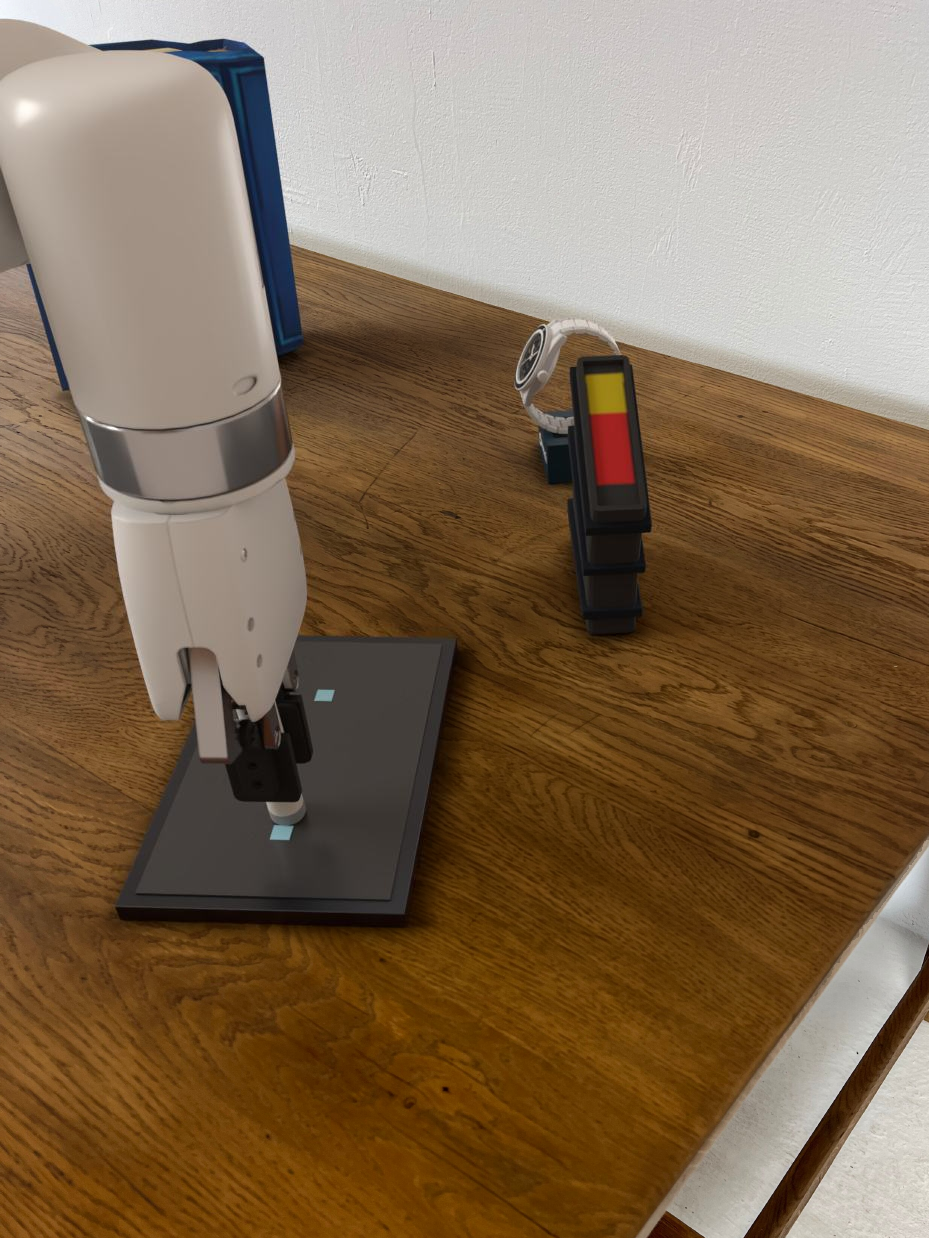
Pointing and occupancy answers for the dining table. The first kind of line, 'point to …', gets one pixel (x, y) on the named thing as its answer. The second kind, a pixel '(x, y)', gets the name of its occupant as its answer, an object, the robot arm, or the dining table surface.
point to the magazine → (607, 493)
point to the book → (257, 145)
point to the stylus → (282, 810)
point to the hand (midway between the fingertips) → (275, 776)
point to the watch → (534, 376)
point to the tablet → (311, 801)
